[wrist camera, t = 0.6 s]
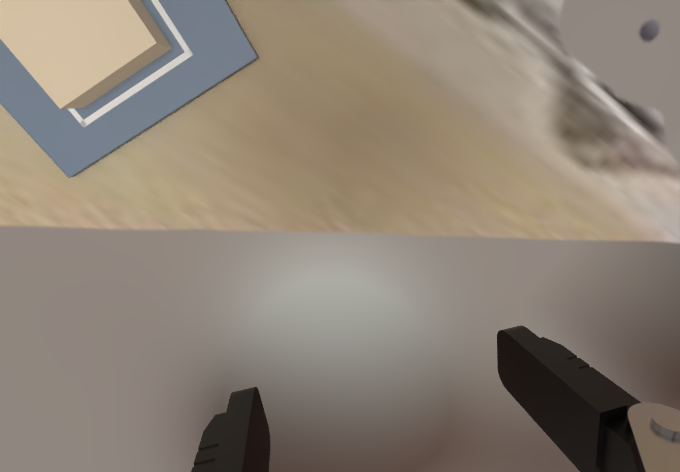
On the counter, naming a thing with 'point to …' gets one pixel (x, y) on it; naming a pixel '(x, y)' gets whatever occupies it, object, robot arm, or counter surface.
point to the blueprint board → (144, 106)
